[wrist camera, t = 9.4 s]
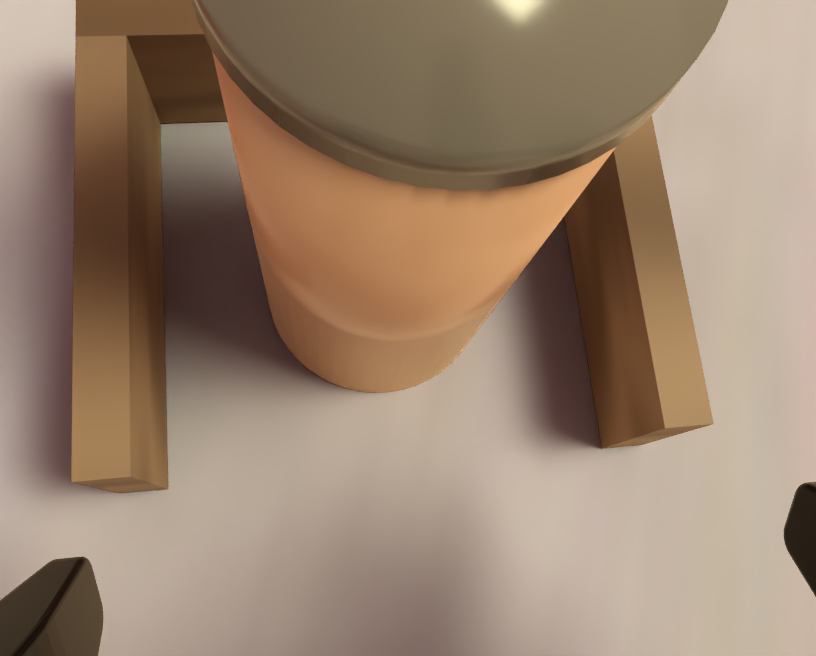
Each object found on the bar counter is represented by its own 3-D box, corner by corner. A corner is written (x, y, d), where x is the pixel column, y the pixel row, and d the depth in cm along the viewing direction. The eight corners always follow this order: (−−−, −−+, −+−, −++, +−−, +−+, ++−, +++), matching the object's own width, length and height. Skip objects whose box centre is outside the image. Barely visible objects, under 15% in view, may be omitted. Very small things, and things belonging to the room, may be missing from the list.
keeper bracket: (642, 444, 18) (713, 424, 15) (121, 493, 17) (71, 482, 14) (577, 76, 21) (625, -13, 18) (118, 88, 19) (76, -6, 16)
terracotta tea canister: (525, 331, 19) (845, 9, 7) (330, 438, 18) (348, 254, 6) (416, 152, 20) (548, -381, 8) (224, 242, 19) (68, -234, 7)
